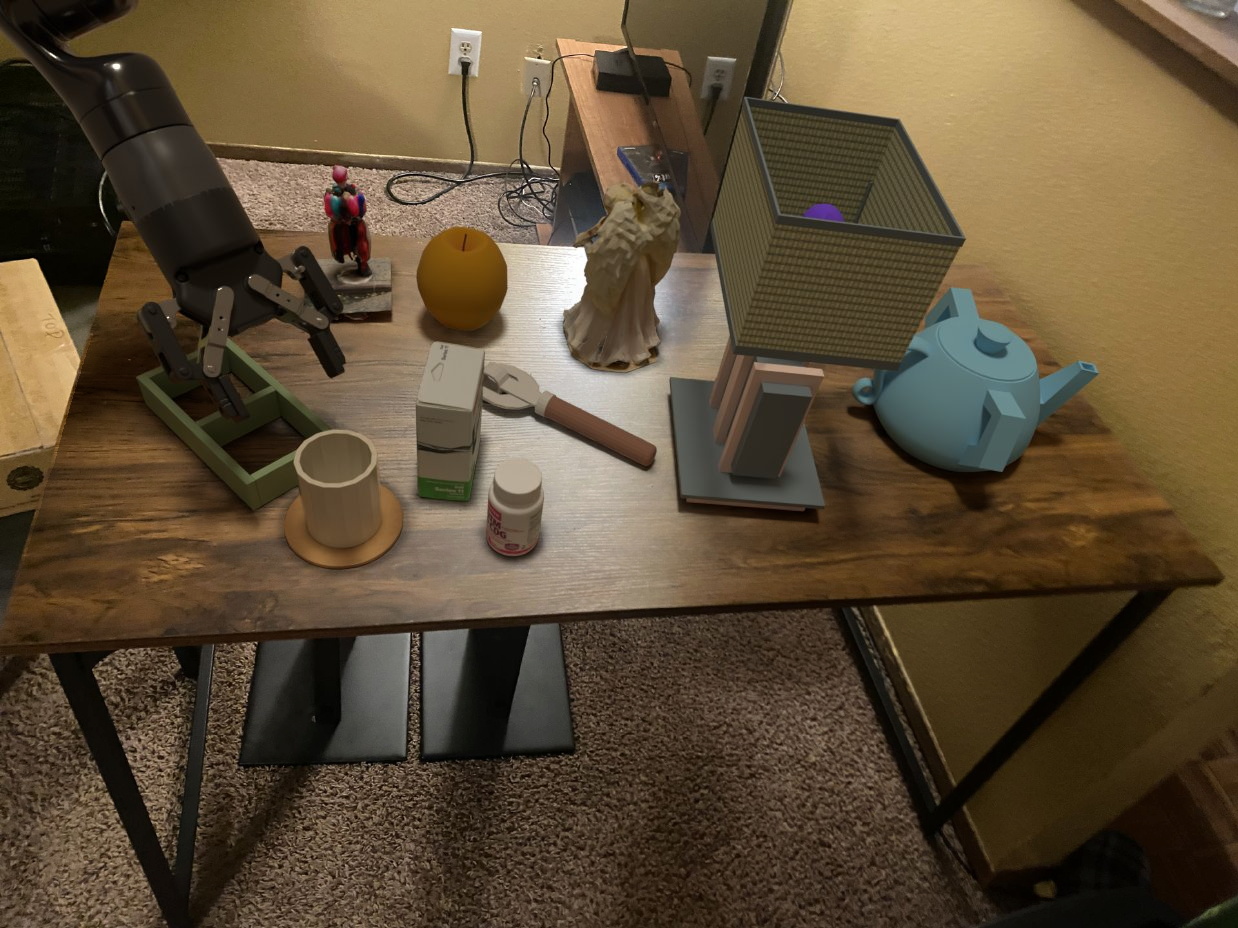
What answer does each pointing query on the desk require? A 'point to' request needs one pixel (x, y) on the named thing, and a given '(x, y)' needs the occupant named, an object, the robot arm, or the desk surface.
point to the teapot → (967, 390)
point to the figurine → (623, 278)
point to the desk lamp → (806, 290)
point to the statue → (362, 276)
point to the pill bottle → (515, 507)
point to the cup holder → (219, 431)
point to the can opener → (559, 411)
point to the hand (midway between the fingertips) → (292, 397)
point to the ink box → (449, 420)
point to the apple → (462, 278)
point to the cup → (339, 487)
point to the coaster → (348, 556)
